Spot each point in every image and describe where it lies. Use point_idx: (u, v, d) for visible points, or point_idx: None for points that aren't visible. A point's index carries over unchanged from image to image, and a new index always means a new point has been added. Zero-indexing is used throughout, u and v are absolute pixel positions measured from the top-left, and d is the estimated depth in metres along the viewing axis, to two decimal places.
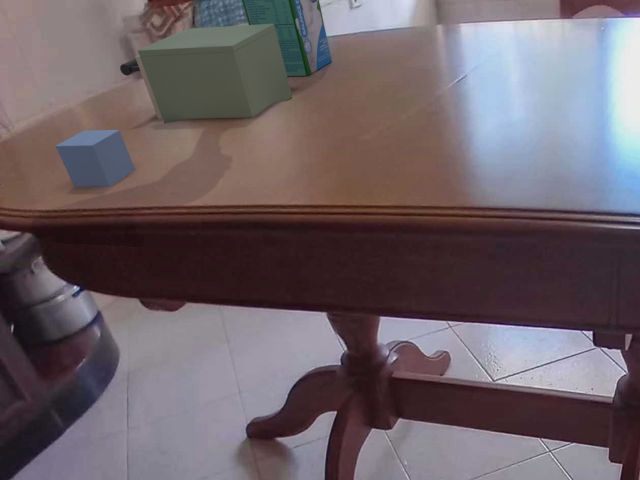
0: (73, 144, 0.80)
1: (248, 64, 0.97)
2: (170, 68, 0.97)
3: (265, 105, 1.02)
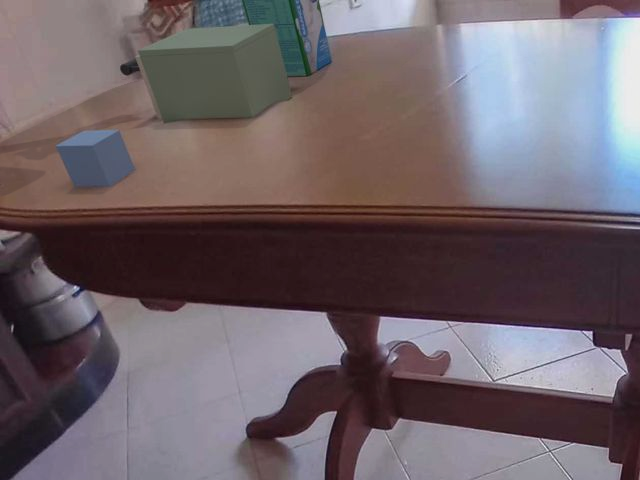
0: (73, 144, 0.80)
1: (248, 64, 0.97)
2: (170, 68, 0.97)
3: (265, 105, 1.02)
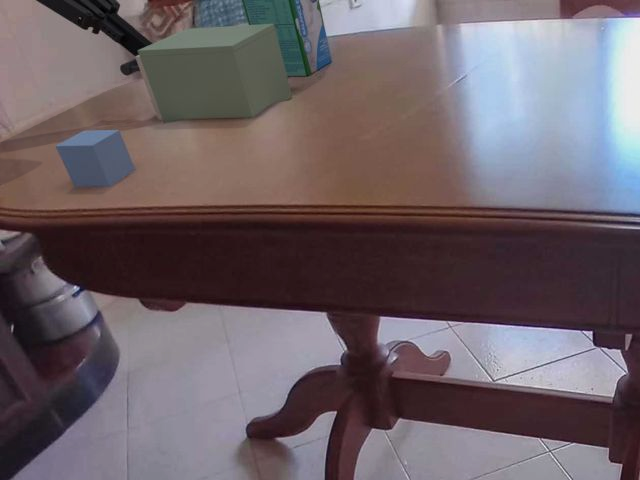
0: (73, 144, 0.80)
1: (248, 64, 0.97)
2: (170, 68, 0.97)
3: (265, 105, 1.02)
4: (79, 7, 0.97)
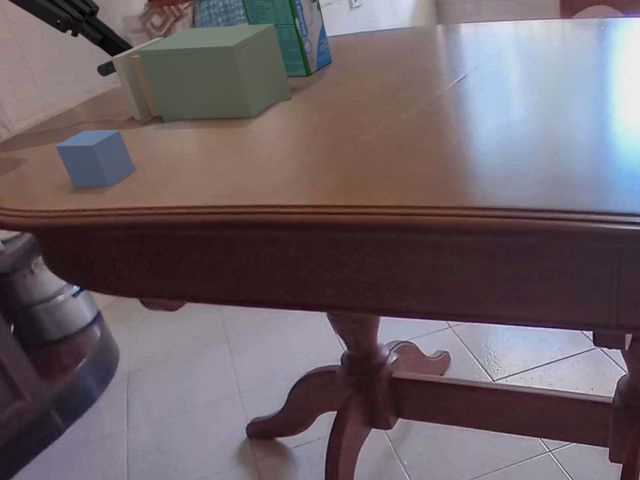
0: (73, 144, 0.80)
1: (248, 64, 0.97)
2: (170, 68, 0.97)
3: (265, 105, 1.02)
4: (57, 11, 0.98)
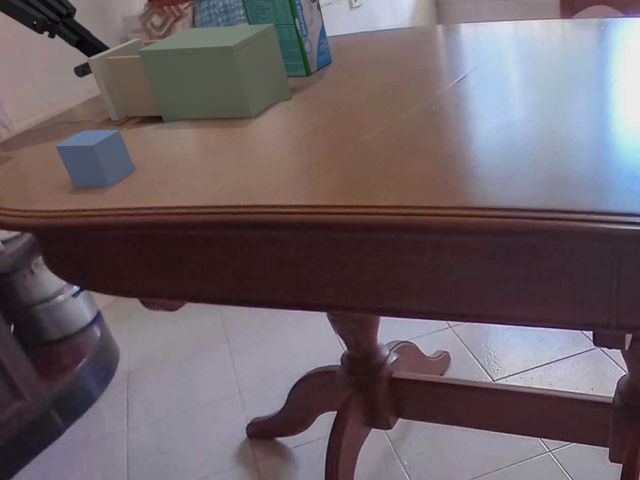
0: (73, 144, 0.80)
1: (248, 64, 0.97)
2: (170, 68, 0.97)
3: (265, 105, 1.02)
4: (34, 12, 0.99)
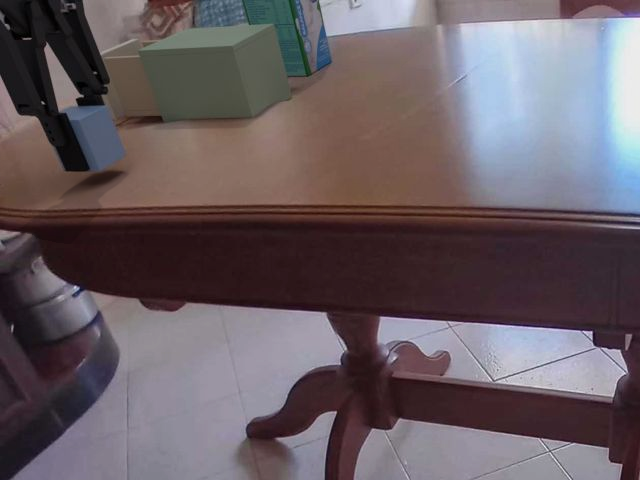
0: None
1: (248, 64, 0.97)
2: (170, 68, 0.97)
3: (265, 105, 1.02)
4: (34, 98, 0.73)
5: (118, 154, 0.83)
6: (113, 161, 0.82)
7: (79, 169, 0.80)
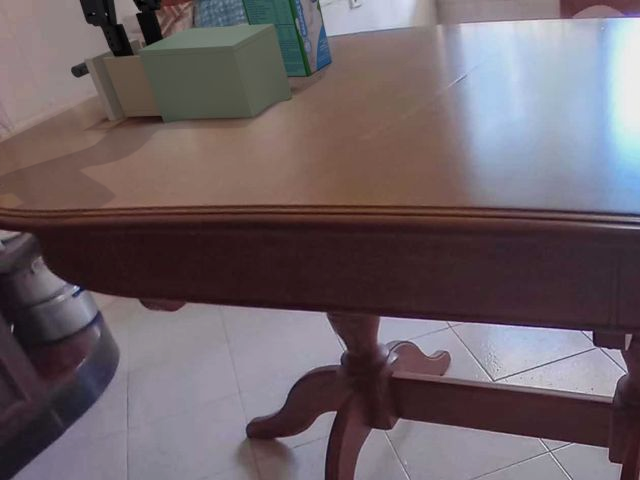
0: None
1: (248, 64, 0.97)
2: (170, 68, 0.97)
3: (265, 105, 1.02)
4: (100, 8, 0.94)
5: None
6: None
7: None
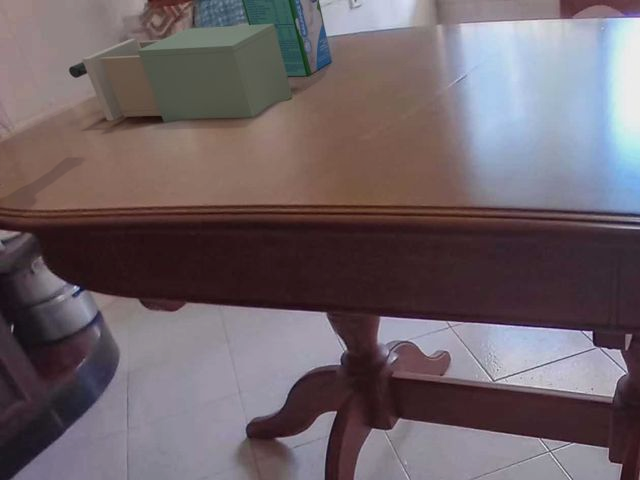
0: None
1: (248, 64, 0.97)
2: (170, 68, 0.97)
3: (265, 105, 1.02)
4: None
5: None
6: None
7: None
